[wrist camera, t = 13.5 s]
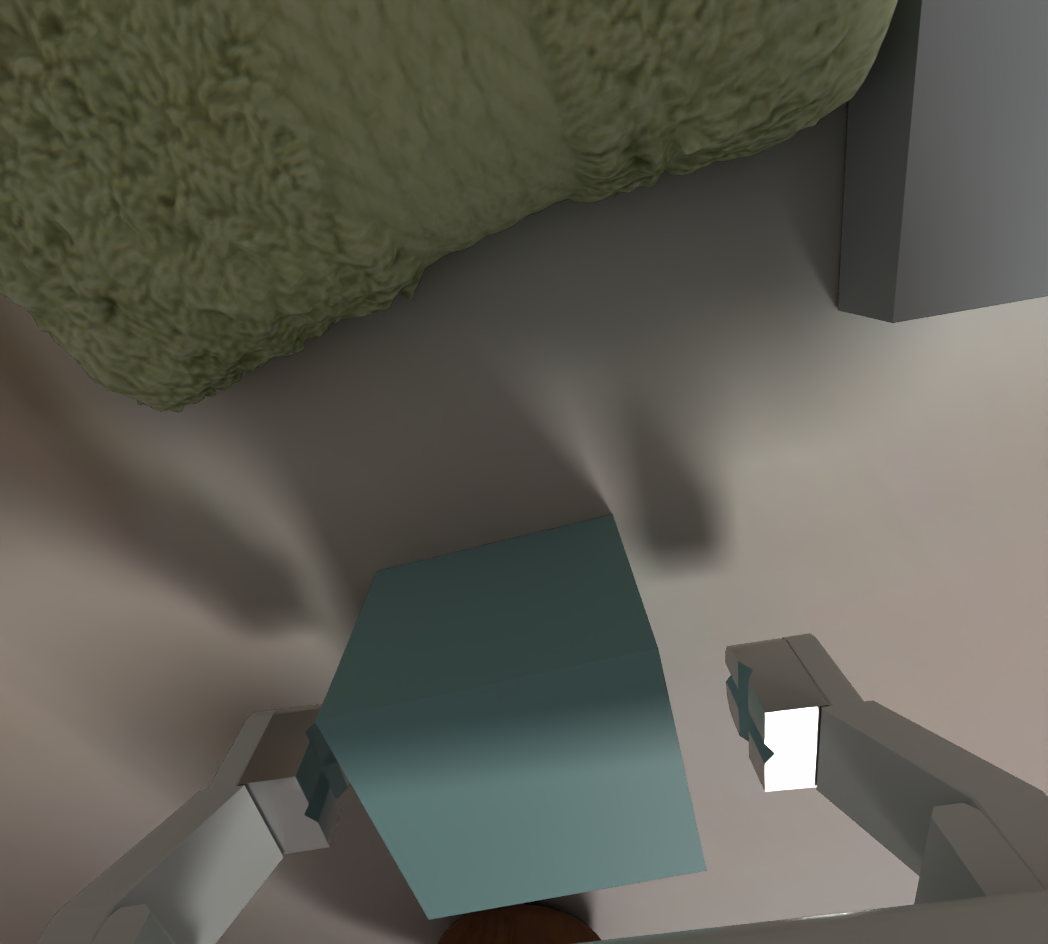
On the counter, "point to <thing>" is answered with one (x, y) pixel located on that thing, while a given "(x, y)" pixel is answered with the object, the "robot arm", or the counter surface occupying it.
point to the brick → (514, 724)
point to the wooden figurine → (518, 927)
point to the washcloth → (352, 149)
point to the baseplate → (949, 163)
